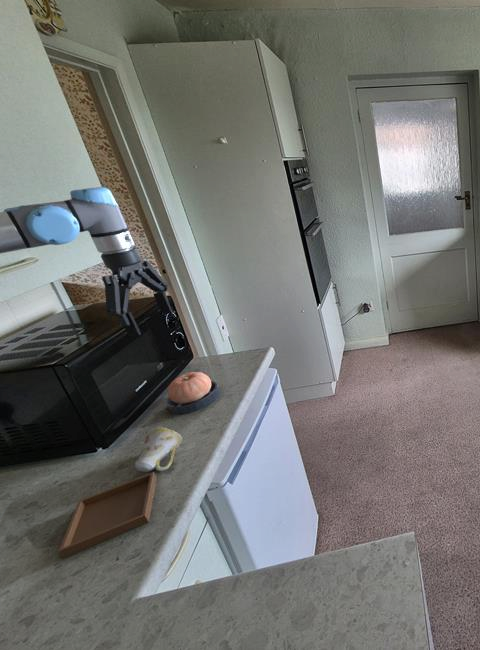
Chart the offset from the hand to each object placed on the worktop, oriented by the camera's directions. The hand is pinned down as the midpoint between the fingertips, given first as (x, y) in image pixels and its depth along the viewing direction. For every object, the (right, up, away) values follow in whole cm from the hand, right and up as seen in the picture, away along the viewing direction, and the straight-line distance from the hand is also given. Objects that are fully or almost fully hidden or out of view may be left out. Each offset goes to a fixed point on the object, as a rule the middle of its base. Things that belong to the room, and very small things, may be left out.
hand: (152, 323), depth 107 cm
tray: (+15, -38, -28) cm, 50 cm away
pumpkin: (+7, -23, +7) cm, 25 cm away
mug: (+14, -33, -14) cm, 38 cm away
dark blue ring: (+7, -23, +7) cm, 25 cm away
